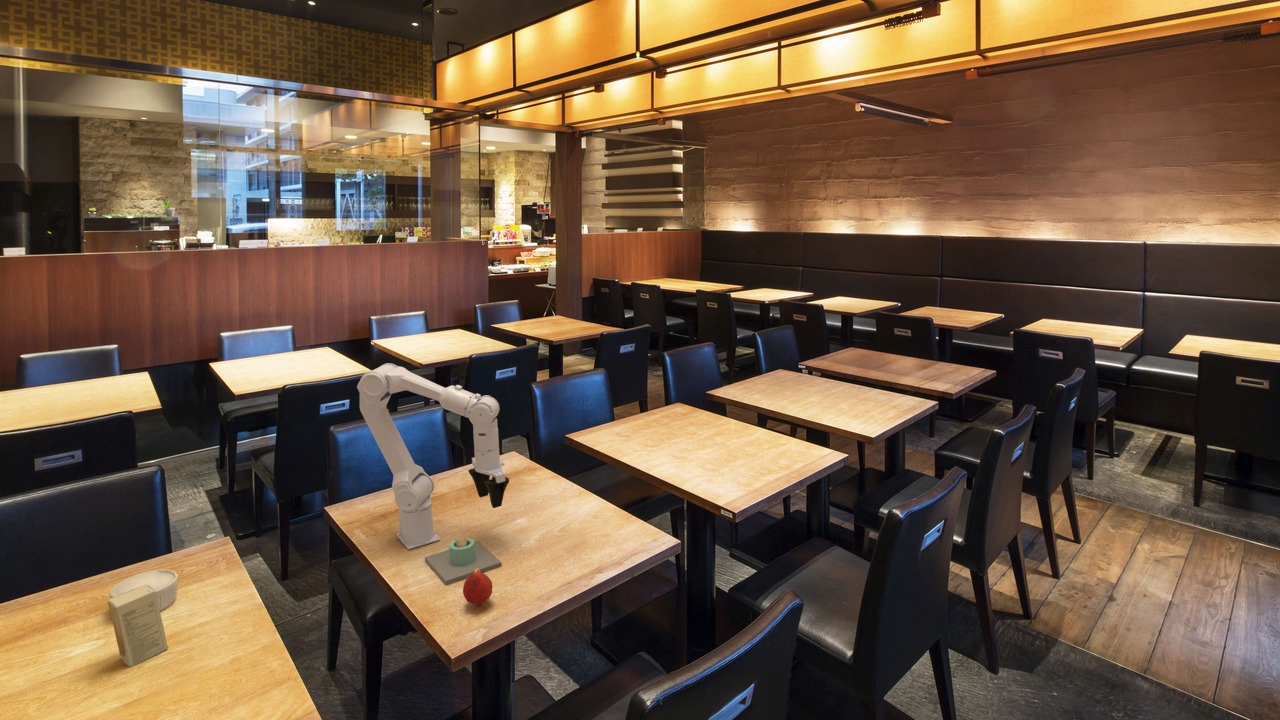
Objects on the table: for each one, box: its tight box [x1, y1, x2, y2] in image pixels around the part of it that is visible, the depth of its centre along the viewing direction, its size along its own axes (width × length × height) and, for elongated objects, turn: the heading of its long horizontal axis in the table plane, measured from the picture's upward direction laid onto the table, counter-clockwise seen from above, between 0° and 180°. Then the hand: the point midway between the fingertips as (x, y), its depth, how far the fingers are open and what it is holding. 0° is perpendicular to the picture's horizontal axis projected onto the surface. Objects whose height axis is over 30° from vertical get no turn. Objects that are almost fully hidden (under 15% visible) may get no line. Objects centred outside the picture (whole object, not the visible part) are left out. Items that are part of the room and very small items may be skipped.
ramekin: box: [109, 569, 179, 612], centre depth 135 cm, size 11×11×5 cm
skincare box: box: [107, 584, 169, 668], centre depth 119 cm, size 6×4×12 cm
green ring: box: [448, 537, 475, 566], centre depth 150 cm, size 5×5×4 cm
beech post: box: [455, 536, 467, 548], centre depth 150 cm, size 2×2×5 cm
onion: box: [462, 569, 493, 607], centre depth 134 cm, size 6×6×8 cm
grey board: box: [424, 540, 503, 586], centre depth 151 cm, size 13×13×1 cm
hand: (490, 501), depth 159 cm, fingers open, 7 cm apart
